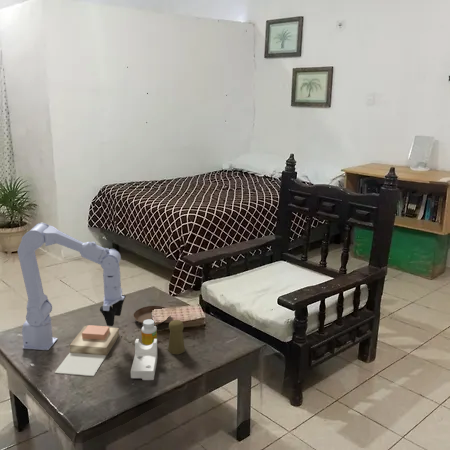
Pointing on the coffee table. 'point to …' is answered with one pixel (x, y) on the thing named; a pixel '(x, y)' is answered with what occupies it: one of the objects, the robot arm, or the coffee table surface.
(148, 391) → the coffee table surface
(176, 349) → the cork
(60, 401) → the coffee table surface
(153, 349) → the bracket
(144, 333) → the supplement bottle
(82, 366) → the mat
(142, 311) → the saucer
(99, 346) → the beige flat block
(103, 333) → the tile
